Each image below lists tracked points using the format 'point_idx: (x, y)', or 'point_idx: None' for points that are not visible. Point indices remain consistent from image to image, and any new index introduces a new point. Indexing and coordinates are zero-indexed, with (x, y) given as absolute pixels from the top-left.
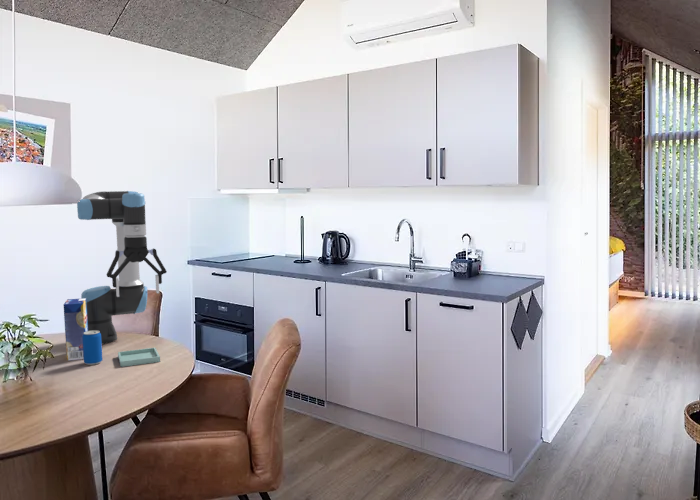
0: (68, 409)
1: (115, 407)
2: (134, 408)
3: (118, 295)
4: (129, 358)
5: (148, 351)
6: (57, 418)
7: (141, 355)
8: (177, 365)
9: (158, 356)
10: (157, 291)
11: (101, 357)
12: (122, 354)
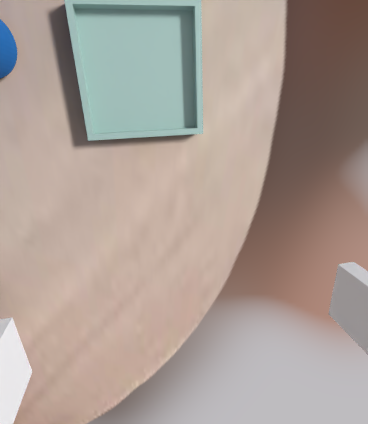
0: None
1: (104, 375)
2: (135, 383)
3: (20, 384)
4: (111, 68)
5: (174, 9)
6: None
7: (150, 47)
8: (234, 184)
9: (199, 130)
10: (343, 324)
11: (11, 58)
12: (83, 6)
